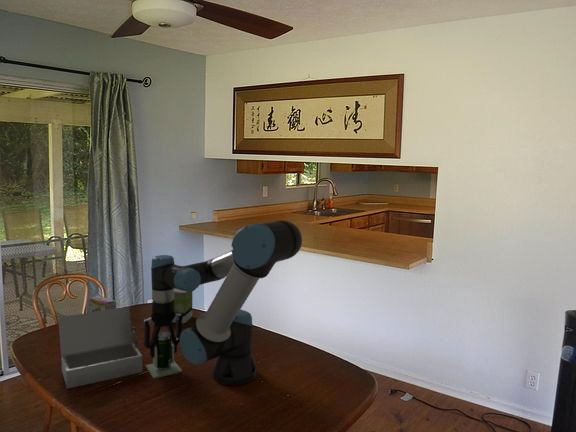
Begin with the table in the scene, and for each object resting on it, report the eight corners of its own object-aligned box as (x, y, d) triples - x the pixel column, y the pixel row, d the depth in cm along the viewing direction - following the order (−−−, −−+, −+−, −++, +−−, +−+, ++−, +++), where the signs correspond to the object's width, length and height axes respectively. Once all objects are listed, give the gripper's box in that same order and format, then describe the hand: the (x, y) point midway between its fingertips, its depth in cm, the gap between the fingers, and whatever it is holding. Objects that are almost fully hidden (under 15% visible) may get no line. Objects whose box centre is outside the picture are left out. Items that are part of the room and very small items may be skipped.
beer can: (173, 363, 168) (172, 331, 166) (169, 370, 162) (169, 337, 161) (158, 363, 168) (157, 331, 166) (153, 370, 162) (153, 337, 161)
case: (146, 371, 163) (145, 320, 161) (66, 388, 150) (64, 334, 148) (133, 351, 179) (132, 305, 176) (60, 366, 165) (58, 316, 163)
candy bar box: (89, 336, 192) (88, 298, 190) (100, 332, 196) (99, 295, 194) (106, 343, 186) (105, 303, 184) (117, 339, 190) (116, 300, 188)
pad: (182, 372, 164) (182, 370, 163) (153, 378, 158) (153, 376, 158) (172, 360, 172) (172, 359, 172) (145, 366, 167) (145, 365, 167)
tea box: (153, 321, 211) (152, 289, 209) (162, 314, 221) (162, 283, 219) (184, 324, 208) (184, 292, 206) (193, 316, 218) (193, 286, 216)
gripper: (184, 293, 170) (185, 354, 173) (133, 300, 160) (134, 364, 163) (192, 299, 163) (192, 362, 166) (138, 307, 154) (140, 373, 157)
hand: (163, 363), depth 165 cm, fingers closed on beer can, 5 cm apart
